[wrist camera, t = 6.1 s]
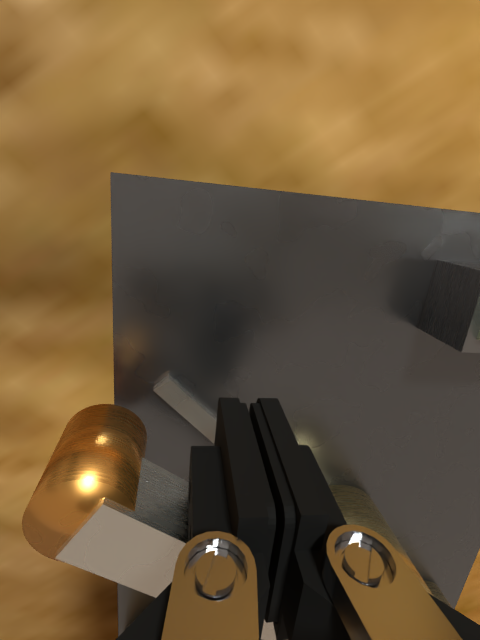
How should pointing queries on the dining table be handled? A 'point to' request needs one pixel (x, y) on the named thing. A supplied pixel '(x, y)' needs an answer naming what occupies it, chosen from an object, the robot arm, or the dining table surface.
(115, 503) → the ball-ended bar
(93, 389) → the dining table surface
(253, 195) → the base
